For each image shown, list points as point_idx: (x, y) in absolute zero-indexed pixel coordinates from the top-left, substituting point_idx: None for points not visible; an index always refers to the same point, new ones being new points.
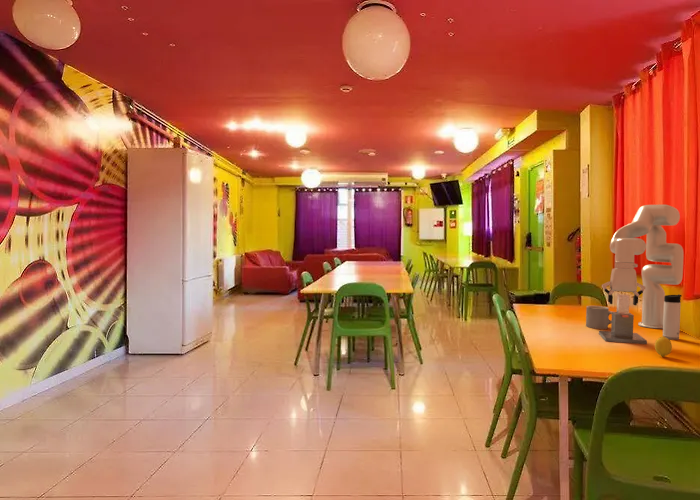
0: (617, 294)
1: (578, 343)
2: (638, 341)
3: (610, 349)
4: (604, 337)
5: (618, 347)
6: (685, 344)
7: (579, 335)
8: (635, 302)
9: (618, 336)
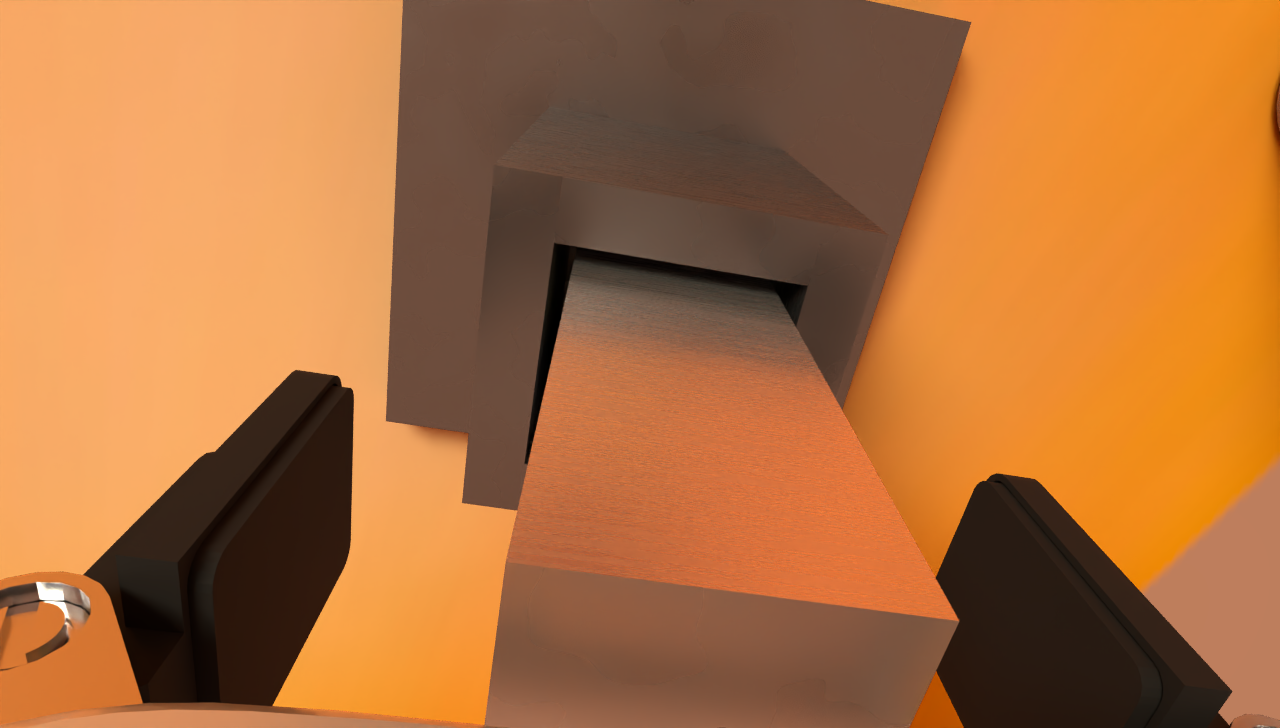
0: (513, 575)
1: (92, 535)
2: None
3: (361, 692)
4: (391, 352)
5: (455, 621)
6: (1247, 402)
7: (114, 91)
8: (957, 693)
9: None
